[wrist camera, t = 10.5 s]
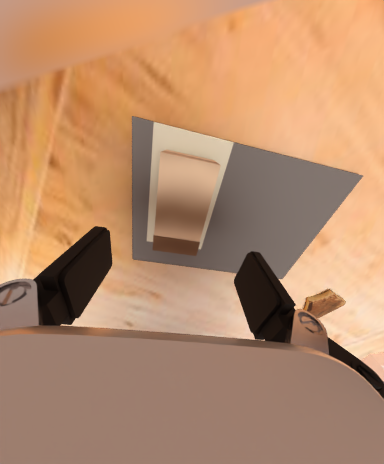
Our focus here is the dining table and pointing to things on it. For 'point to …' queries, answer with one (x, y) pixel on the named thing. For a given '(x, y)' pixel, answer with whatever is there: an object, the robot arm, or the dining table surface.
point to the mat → (237, 200)
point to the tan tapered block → (183, 201)
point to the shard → (323, 303)
